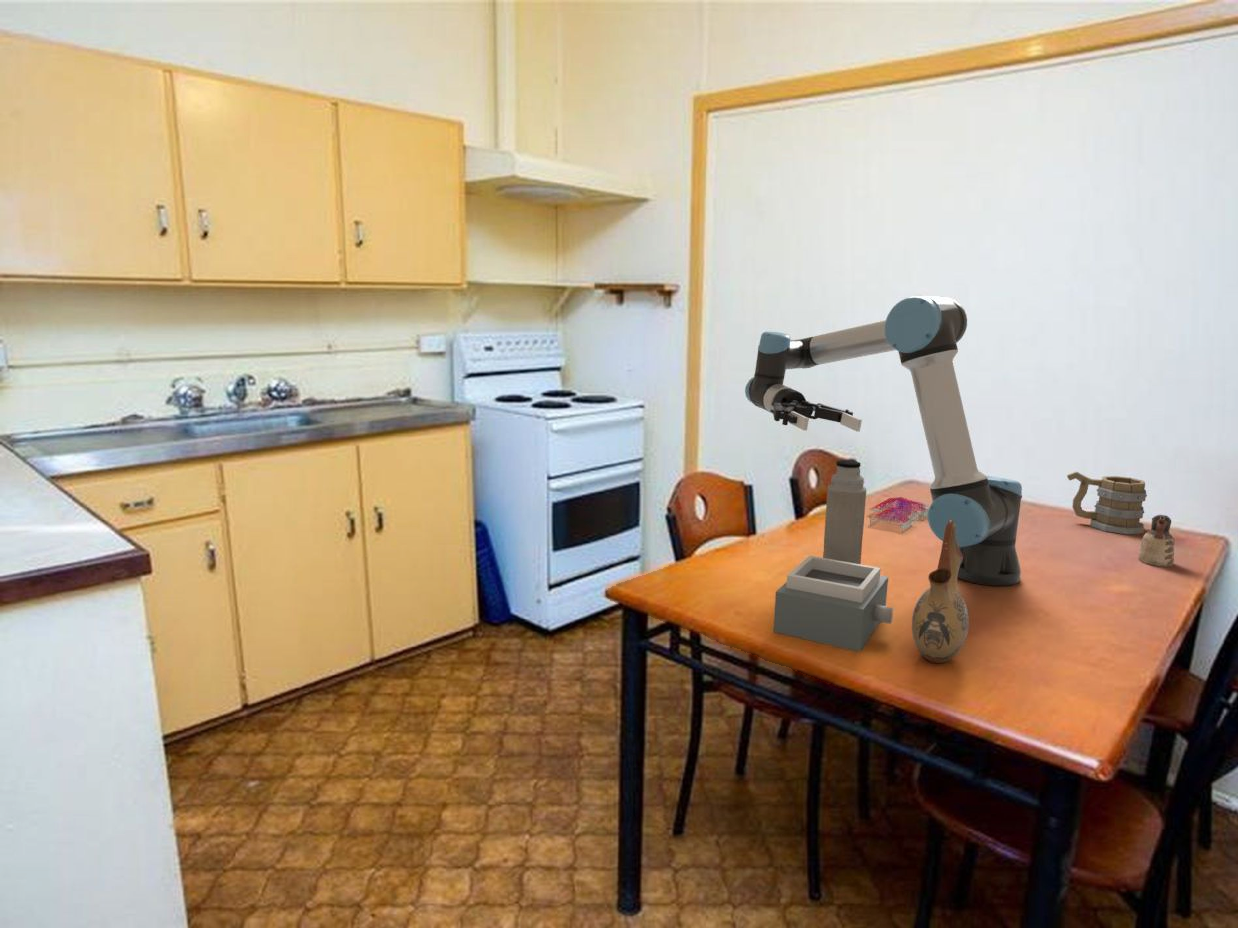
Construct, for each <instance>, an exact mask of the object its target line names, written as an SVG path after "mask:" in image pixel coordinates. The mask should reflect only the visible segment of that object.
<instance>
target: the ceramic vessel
mask: <svg viewBox="0 0 1238 928" xmlns="http://www.w3.org/2000/svg"><path fill="white" fill-rule="evenodd" d="M962 559H963V556H962V553H961V551H960V549H959V547H958V543H957V539H956V523H955V521H954V520H949V521H948V523H947V525H946V528H945V532H944V538H943V541H942V545H941V550H940V554H939V559H938V564H937V568H936V570H933V571H931V572H930V573H929V574H928V575H927V576H928V582H929V586H930V587H929V588H928V589H926V590H925V591H924V592H923V593H922V594H921V596H920V597H919V598H918V600H917V601H916V603H915V606H914V609H913V612H912V617H911V634H912V639H913V641H914V645H915V646H916V648H917V650H918V652H919V653H920V654H921V655H922V657H923V658H925V660H927V661H928V662H932V663H936V664H941V663H942V664H943V663H947V662H948V661H950V660H952V659H953V658H955V657H956V656H957V655H958V654H959V653H960V651H961V650H962V648H963V647H964V644H965V642H966V640H967V637H968V633H969V626H970V617H969V610H968V607H967V604H966V602H965V599H964V597H963V596H962V594H961V593H960V591H959V585H958V578H957V576H958V571H959V567H960V565H961V562H962Z"/></svg>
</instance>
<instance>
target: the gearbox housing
mask: <svg viewBox="0 0 1238 928" xmlns="http://www.w3.org/2000/svg"><path fill="white" fill-rule="evenodd" d="M888 583H889V576H885V575H882V574H881V567H876V566H872V565H865V564H862V563H861V564H855V563H850V562H844V561H838V560H832V559H827V558H823V557H821V556H820V557H819V556H815V555H808V556H807V557H806V558H805V559H804V560H803V561H802V562H800V563H799V564H798V565H797V566H795V568H794V569H793V570H792V571H790V572H789V573H788V574H787V575H786V582H785V583H784V584H783V585H782V586H781V587H779V588H778V589H777V590H776V591H775V599H774V614H773V615H774V620H773V632H774V633H776V634H780V635H785V636H789V637H794V638H798V639H802V640H807V641H811V642H816V643H819V644H825V645H828V646H832V647H836V648H837V647H838V648H842V649H846V650H849V651H854V652H859V653H861V651H862V650H863V648H864V647H865V645H866V644H867V643H868V641H869V639H870V638H871V636H872V635H873V633H874V632H875V630H876V629H877V628H878V626H879V624H880V623H885V624H889V625H891V624H892V621H893V619H894V618H893V617H894V607H891V606H887V596H888V595H887V594H888V585H889V584H888Z"/></svg>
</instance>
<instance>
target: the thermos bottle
mask: <svg viewBox="0 0 1238 928" xmlns="http://www.w3.org/2000/svg"><path fill="white" fill-rule="evenodd" d="M836 466H837V467H836V472H835V474H833V475H831V480H830V483H831V484H828V486H827V493H826V505H825V517H824V518H825V520H824V537H823V553H822V554H823V555H822V558H827V559H832V560H838V561H844V562H850V563H855V564H861V565H862V550H863V549H862V548H863V547H862V546H863V534H864V526H865V514H866V513H865V512H866V511H865V510H866V502H867V501H866V500H867V488H866V487H865V486H864V484H865V481H864V480H865V479H864V477H863V476H861V468H860V467H861V462H859V461H857V460H851V459H850V460H849V459H847V460H846V459H843V460H842V459H840V460H837V461H836Z"/></svg>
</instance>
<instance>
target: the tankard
mask: <svg viewBox="0 0 1238 928" xmlns="http://www.w3.org/2000/svg"><path fill="white" fill-rule="evenodd" d="M1066 477H1067V478H1068V479H1067V480H1068V481H1073V480H1075V479H1076V480H1077V481H1079V482H1080V485H1079V488H1078V490H1077V493H1076V494H1075V496H1074V497H1073V499H1072V510H1073V512H1074V514H1075V515H1076V517H1078V518H1079V517H1080V518H1083V519H1088V520H1090V524H1089V527H1091V528H1094V529H1097V530H1101V531H1102V532H1106V533H1112V534H1121V535H1128V536H1129V535H1142V534H1143V535H1144V530H1145V527H1144V526H1145V525H1144V523H1142V522H1140V519H1143V517H1144V513H1145V510H1144V509H1145V508H1144V506H1143V502H1145V501H1146V498H1147V497H1148V495H1147V490H1146V489H1145V488H1146V482H1145V481H1144V480H1141V479H1138V478H1132V477H1126V476H1117V475H1116V476H1115V475H1111V476H1110V475H1105V476H1102V477H1101V479H1098V478H1097V479H1096V478H1091V477H1089V476H1086V475H1083V474H1082V473H1080V472H1078V471H1074V472H1072V473H1069V474H1067V475H1066ZM1089 486H1096V487H1097V488H1096V492H1097V493H1096V494H1097V496H1098V500H1097V501H1096V503H1095V505H1094V508H1095V509H1094V511H1087V510H1084V509H1083V508H1082V506H1081V505H1082V501H1084V500H1083V499H1084V498H1085V496H1086V495H1087V493H1088V489H1089Z"/></svg>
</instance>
